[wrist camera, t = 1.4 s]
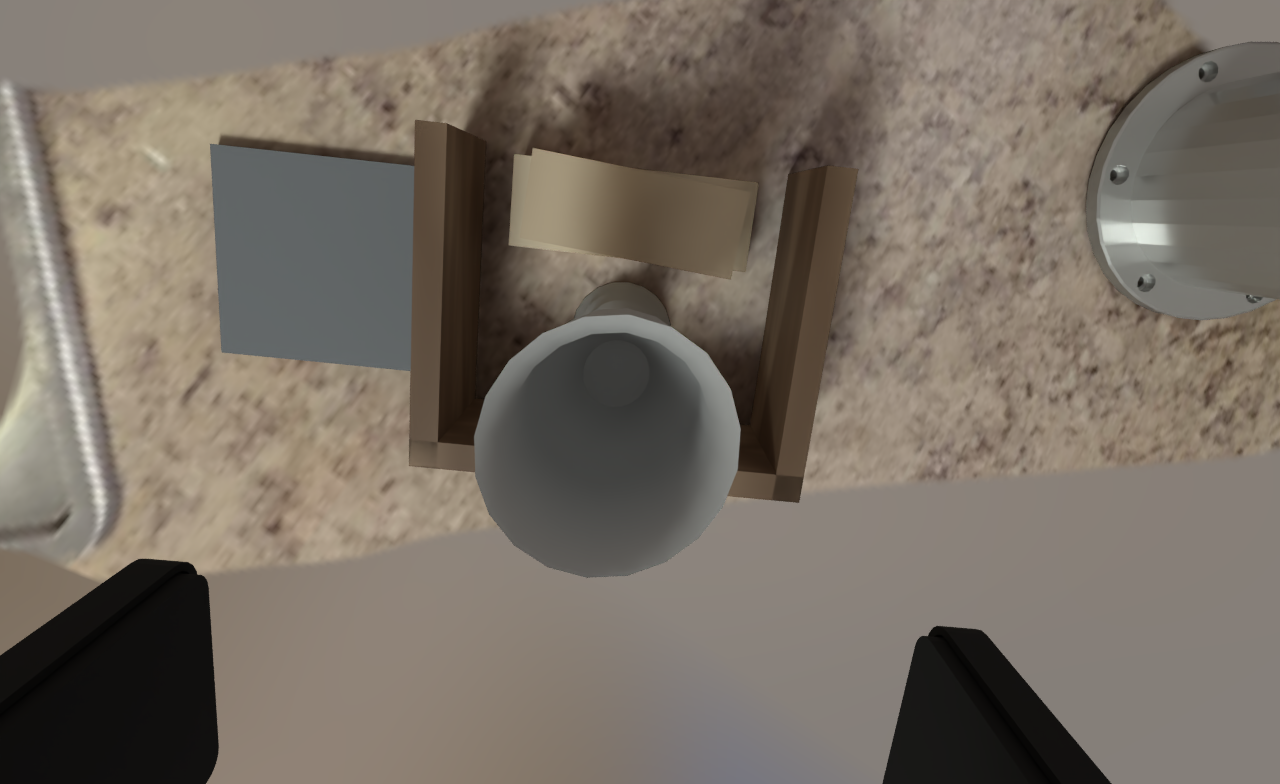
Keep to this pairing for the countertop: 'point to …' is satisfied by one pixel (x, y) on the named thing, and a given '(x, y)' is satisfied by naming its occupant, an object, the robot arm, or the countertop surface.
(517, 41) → the countertop surface
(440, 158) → the brown wooden u-shaped frame
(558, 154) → the offcut upper
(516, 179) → the offcut lower
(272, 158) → the slate tile
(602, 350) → the chalice
